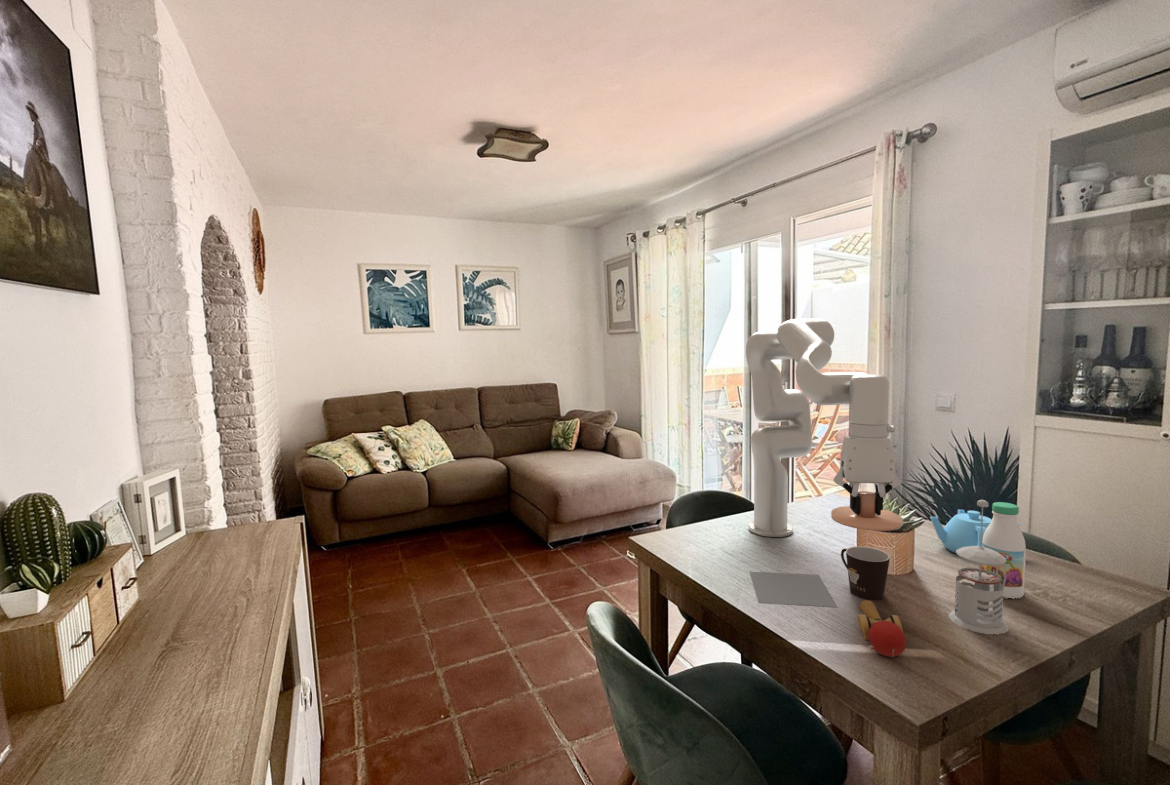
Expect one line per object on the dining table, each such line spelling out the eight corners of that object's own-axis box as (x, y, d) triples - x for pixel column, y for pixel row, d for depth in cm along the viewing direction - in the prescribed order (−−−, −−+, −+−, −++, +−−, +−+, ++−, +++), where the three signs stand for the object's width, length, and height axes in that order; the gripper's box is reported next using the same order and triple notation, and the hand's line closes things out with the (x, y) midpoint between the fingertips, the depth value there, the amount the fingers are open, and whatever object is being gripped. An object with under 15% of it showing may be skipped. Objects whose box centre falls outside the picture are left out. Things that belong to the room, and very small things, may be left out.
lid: (824, 509, 127) (824, 484, 126) (888, 511, 124) (888, 485, 124) (841, 529, 113) (842, 501, 112) (914, 532, 111) (914, 503, 110)
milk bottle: (983, 581, 125) (987, 497, 123) (1026, 591, 120) (1030, 504, 118) (976, 592, 120) (980, 505, 118) (1021, 603, 114) (1025, 512, 113)
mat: (749, 575, 131) (749, 571, 131) (818, 578, 129) (818, 574, 128) (758, 606, 116) (758, 602, 116) (837, 611, 113) (837, 607, 113)
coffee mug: (894, 608, 114) (896, 562, 113) (851, 605, 115) (851, 560, 115) (876, 584, 125) (877, 542, 124) (837, 581, 127) (837, 540, 126)
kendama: (843, 618, 113) (863, 654, 96) (848, 588, 113) (870, 619, 96) (883, 629, 111) (911, 668, 94) (889, 599, 111) (918, 632, 94)
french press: (936, 615, 111) (941, 496, 108) (974, 604, 115) (979, 489, 112) (987, 639, 101) (992, 510, 99) (1026, 626, 106) (1032, 502, 103)
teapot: (924, 546, 147) (925, 508, 146) (958, 536, 153) (959, 500, 152) (985, 566, 133) (987, 524, 132) (1020, 555, 139) (1022, 515, 138)
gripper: (902, 428, 119) (900, 509, 121) (823, 428, 122) (821, 506, 124) (916, 434, 112) (914, 519, 113) (832, 433, 115) (830, 517, 116)
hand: (866, 512), depth 119 cm, fingers closed on lid, 3 cm apart
